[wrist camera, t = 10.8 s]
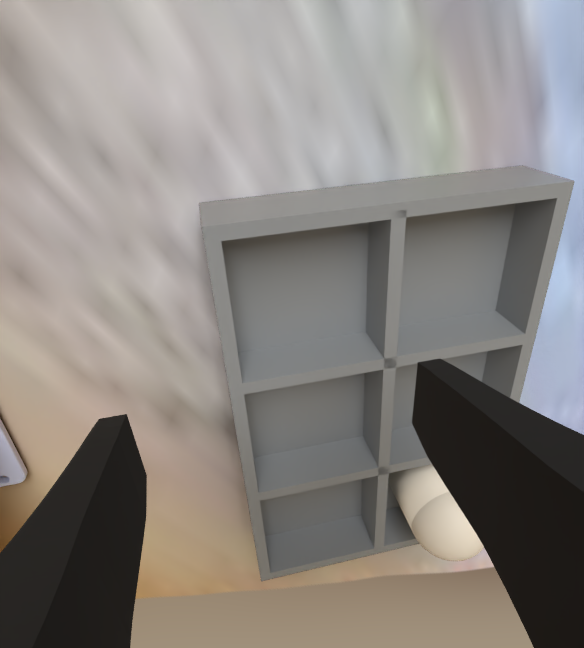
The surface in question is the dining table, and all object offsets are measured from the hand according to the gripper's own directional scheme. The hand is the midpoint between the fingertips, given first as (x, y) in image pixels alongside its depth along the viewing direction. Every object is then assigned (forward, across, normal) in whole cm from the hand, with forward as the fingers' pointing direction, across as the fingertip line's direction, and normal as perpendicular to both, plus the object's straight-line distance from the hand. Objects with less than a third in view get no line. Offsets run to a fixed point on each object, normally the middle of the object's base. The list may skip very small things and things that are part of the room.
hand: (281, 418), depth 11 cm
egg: (+10, -10, +15) cm, 20 cm away
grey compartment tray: (+10, -6, +8) cm, 14 cm away
